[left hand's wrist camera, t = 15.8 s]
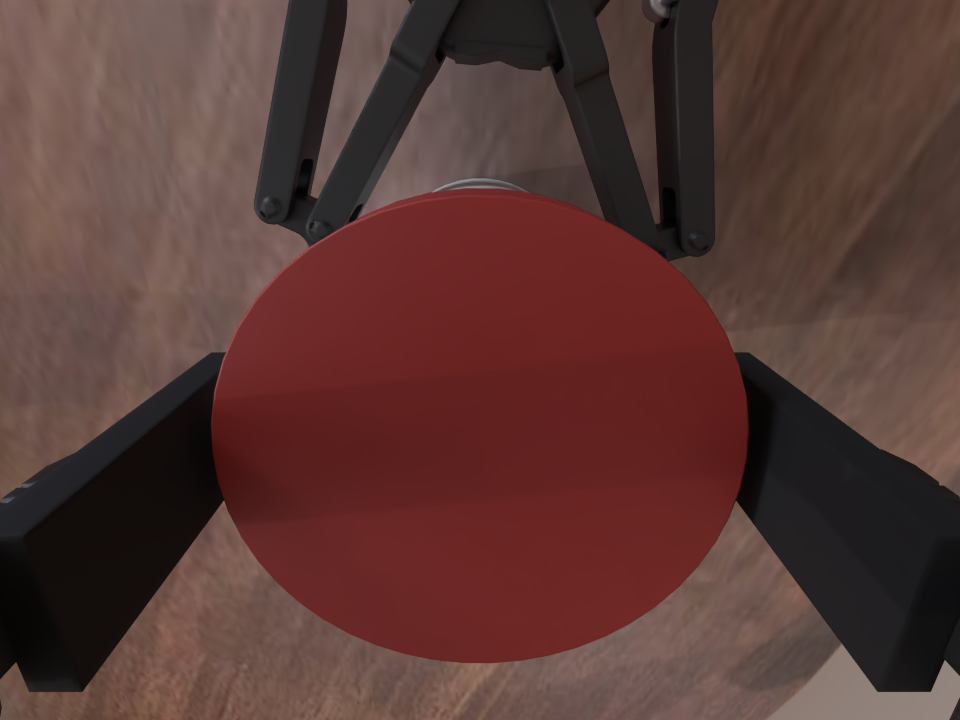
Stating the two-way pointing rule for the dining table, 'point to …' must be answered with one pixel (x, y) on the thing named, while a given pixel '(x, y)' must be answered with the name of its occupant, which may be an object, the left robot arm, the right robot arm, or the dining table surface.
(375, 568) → the lid
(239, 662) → the dining table surface
